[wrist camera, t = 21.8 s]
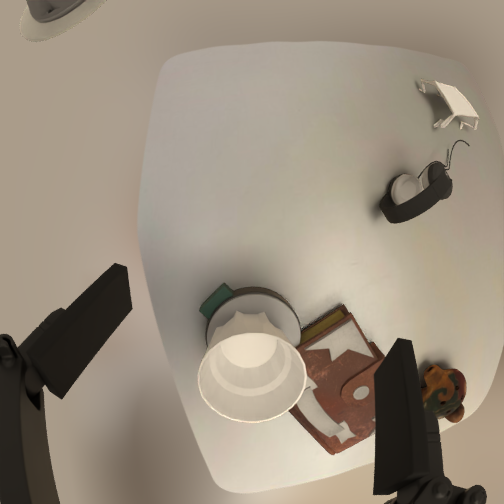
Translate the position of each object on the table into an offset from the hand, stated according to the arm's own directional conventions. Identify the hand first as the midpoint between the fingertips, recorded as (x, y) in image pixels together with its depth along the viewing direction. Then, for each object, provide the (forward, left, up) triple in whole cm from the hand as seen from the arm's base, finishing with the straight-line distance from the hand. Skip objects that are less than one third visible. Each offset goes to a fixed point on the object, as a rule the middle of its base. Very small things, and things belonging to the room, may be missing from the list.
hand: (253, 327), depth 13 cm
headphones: (+10, +26, -24) cm, 37 cm away
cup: (+8, -7, -21) cm, 23 cm away
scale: (+8, -6, -24) cm, 26 cm away
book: (+24, -4, -24) cm, 34 cm away
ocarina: (+42, +7, -24) cm, 49 cm away
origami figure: (+8, +40, -24) cm, 47 cm away
